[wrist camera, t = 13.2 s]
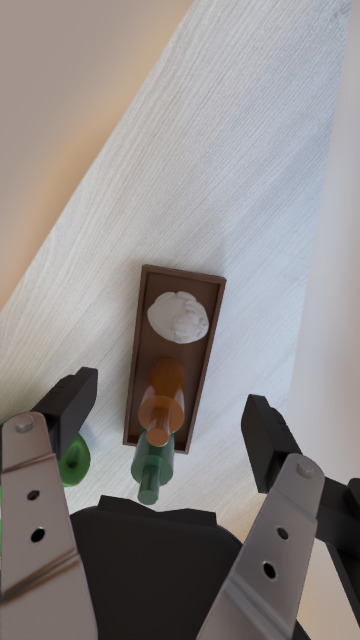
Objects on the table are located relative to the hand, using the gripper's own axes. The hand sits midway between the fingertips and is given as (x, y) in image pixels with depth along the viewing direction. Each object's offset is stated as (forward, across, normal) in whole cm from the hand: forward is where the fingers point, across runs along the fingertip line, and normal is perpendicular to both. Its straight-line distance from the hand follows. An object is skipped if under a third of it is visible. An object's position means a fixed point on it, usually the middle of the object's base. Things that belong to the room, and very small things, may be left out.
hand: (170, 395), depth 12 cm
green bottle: (+19, 0, +18) cm, 27 cm away
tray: (+20, 0, +9) cm, 22 cm away
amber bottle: (+19, 0, +10) cm, 22 cm away
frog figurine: (+20, 0, +1) cm, 20 cm away
